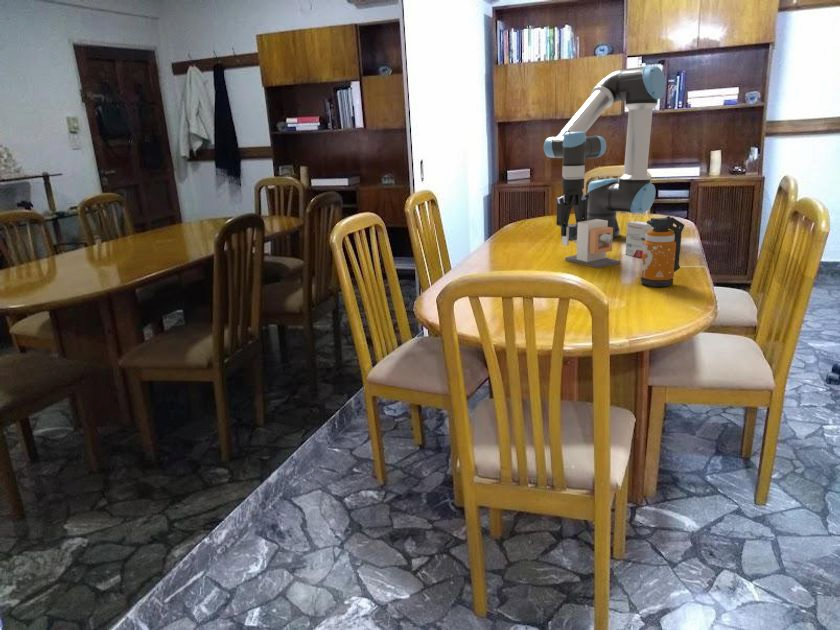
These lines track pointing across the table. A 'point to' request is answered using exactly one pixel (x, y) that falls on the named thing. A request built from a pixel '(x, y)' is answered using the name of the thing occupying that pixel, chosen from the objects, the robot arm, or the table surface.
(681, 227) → the canister
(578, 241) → the bearing block
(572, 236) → the shaft
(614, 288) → the table surface
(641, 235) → the ink box
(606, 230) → the plate
